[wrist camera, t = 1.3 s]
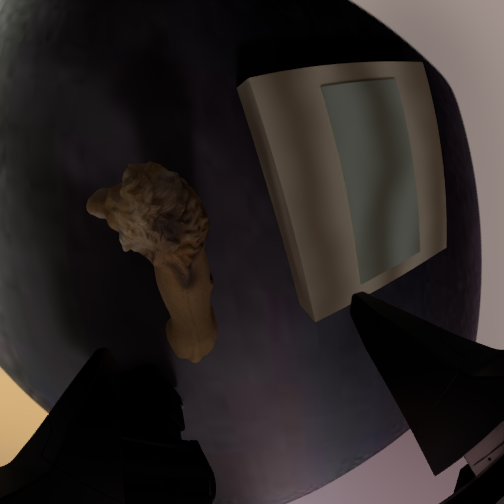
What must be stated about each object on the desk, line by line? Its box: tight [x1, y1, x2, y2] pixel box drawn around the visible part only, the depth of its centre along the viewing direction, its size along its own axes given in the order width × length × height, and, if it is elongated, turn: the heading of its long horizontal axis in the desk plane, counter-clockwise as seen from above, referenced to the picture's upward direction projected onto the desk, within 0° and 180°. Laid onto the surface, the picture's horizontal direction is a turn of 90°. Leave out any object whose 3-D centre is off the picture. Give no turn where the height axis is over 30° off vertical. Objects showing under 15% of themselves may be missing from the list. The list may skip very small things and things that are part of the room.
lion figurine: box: [87, 161, 217, 363], centre depth 16 cm, size 15×5×9 cm, turn 15°
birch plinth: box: [237, 62, 446, 322], centre depth 21 cm, size 16×18×3 cm
